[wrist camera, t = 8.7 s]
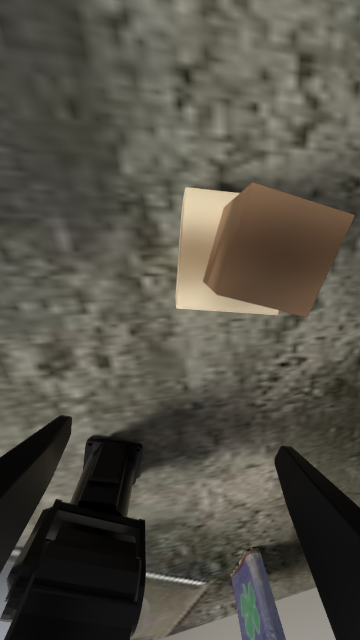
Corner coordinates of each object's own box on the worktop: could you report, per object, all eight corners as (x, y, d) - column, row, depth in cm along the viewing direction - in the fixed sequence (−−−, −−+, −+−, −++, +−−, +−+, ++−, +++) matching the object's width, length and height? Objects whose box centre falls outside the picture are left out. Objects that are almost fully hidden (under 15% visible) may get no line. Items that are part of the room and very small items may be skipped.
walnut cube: (265, 297, 15) (307, 317, 11) (202, 281, 15) (217, 294, 10) (292, 228, 14) (354, 215, 9) (223, 207, 13) (252, 182, 9)
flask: (248, 546, 32) (284, 683, 22) (265, 548, 32) (308, 684, 22) (227, 577, 35) (251, 712, 24) (243, 578, 35) (272, 712, 25)
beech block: (257, 302, 20) (277, 315, 16) (175, 297, 19) (176, 308, 15) (276, 211, 17) (305, 199, 13) (182, 202, 17) (185, 187, 13)
